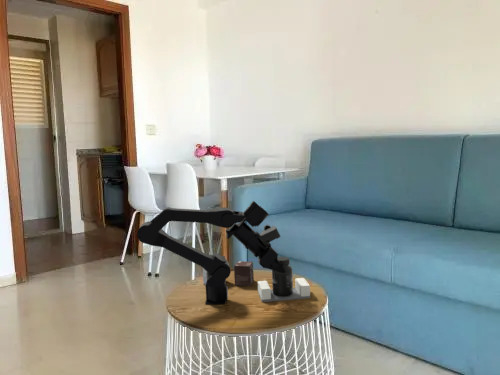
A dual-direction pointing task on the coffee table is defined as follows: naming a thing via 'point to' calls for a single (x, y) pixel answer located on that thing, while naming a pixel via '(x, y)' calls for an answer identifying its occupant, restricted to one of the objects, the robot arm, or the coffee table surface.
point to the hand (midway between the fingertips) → (282, 267)
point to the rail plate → (298, 293)
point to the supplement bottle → (283, 279)
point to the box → (243, 273)
